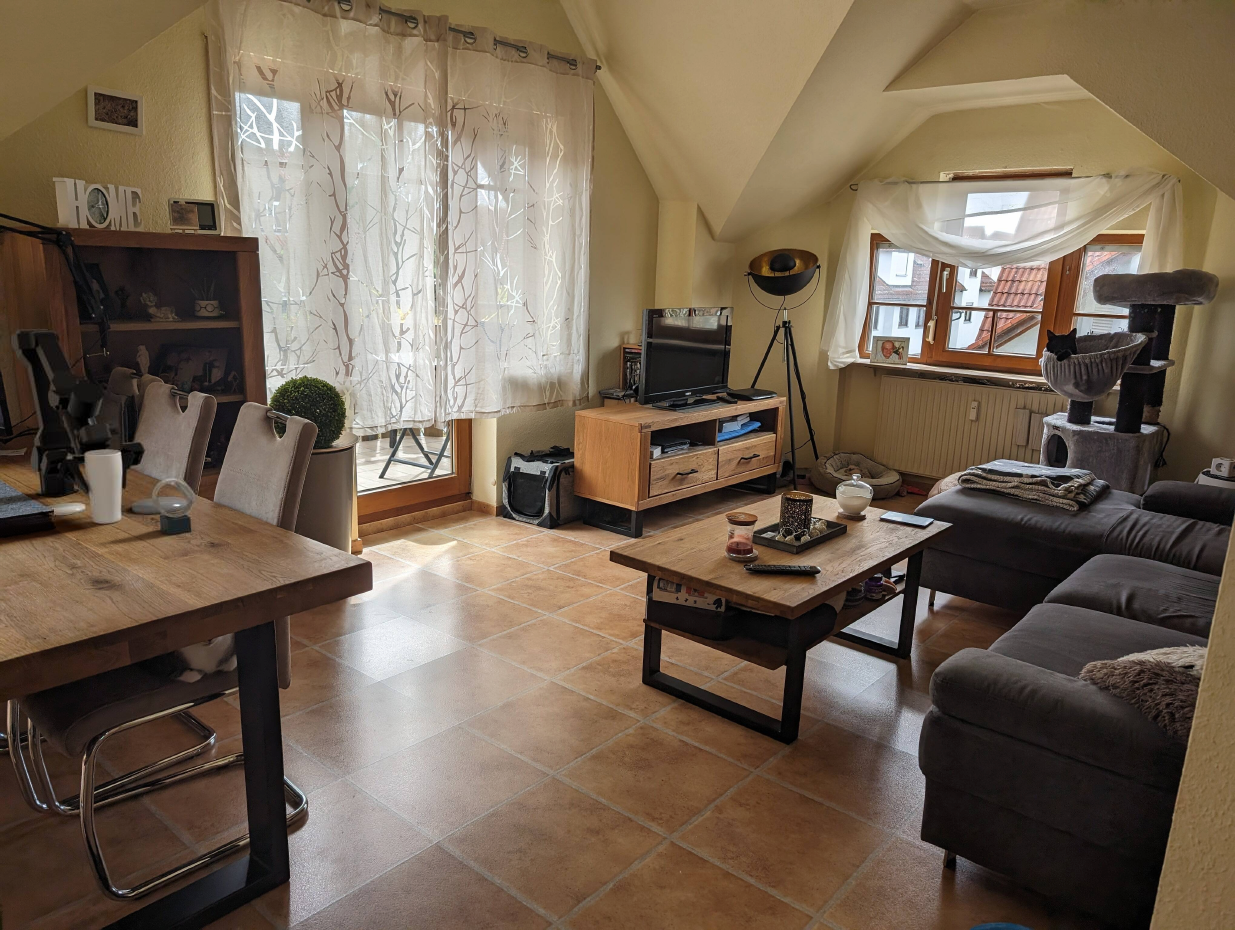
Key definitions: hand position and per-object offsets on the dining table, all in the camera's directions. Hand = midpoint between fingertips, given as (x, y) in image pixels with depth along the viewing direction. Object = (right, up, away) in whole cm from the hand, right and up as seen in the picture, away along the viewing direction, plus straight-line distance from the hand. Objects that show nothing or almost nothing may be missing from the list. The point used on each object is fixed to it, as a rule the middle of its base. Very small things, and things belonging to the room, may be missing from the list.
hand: (106, 490), depth 183 cm
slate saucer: (+4, -4, +14) cm, 15 cm away
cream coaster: (-15, -5, +9) cm, 18 cm away
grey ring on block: (+16, -8, -2) cm, 18 cm away
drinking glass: (-1, -7, +2) cm, 7 cm away
